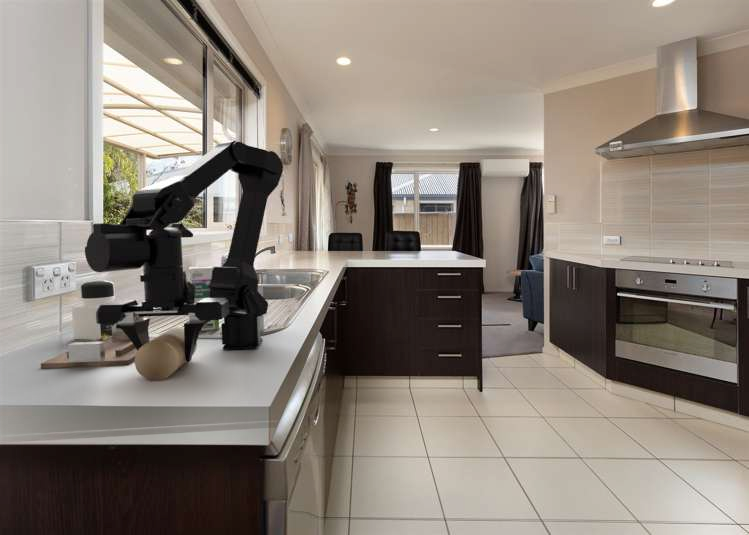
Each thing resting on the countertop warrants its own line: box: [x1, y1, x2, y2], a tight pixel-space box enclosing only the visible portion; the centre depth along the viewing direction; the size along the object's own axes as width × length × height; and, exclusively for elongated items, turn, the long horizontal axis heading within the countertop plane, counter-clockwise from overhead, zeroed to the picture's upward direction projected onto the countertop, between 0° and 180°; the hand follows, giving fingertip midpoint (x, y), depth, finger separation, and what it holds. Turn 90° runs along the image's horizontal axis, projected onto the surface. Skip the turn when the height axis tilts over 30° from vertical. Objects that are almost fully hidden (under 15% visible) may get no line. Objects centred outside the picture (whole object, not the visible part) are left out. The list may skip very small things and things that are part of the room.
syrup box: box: [188, 265, 220, 332], centre depth 101 cm, size 6×6×14 cm
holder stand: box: [40, 325, 156, 369], centre depth 81 cm, size 14×16×4 cm
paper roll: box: [134, 326, 198, 382], centre depth 70 cm, size 6×10×6 cm, turn 5°
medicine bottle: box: [71, 280, 118, 341], centre depth 95 cm, size 7×7×12 cm
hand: (168, 362), depth 71 cm, fingers closed on paper roll, 6 cm apart
